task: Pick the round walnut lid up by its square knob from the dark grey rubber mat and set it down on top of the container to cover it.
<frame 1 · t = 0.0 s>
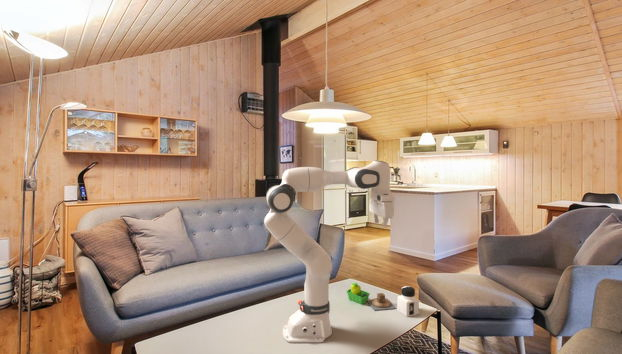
hand: (380, 224, 153), 48 cm above the table, fingers open, 8 cm apart
lid: (381, 303, 177), point 1 cm above the table, touching mat
fruit basket: (357, 301, 182), on the table
container: (407, 312, 168), on the table
mat: (381, 304, 177), on the table
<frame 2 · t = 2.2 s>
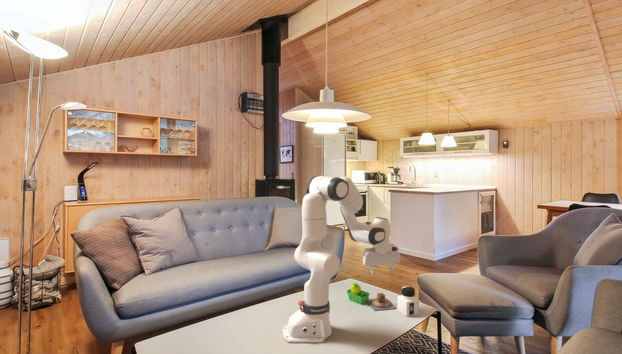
hand: (381, 272, 176), 18 cm above the table, fingers open, 8 cm apart
nothing on the table moved.
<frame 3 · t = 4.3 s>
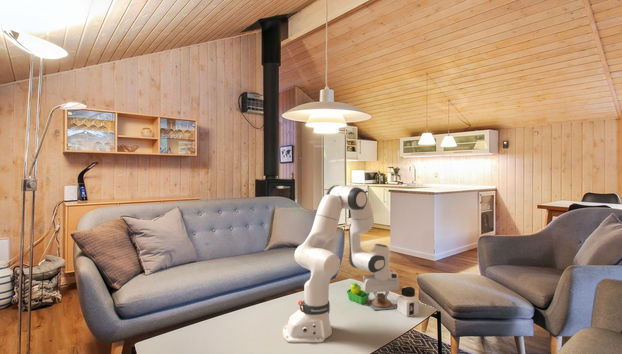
hand: (381, 299, 177), 3 cm above the table, fingers closed on lid, 3 cm apart
lid: (381, 303, 177), point 1 cm above the table, touching gripper, mat
everything else where it was.
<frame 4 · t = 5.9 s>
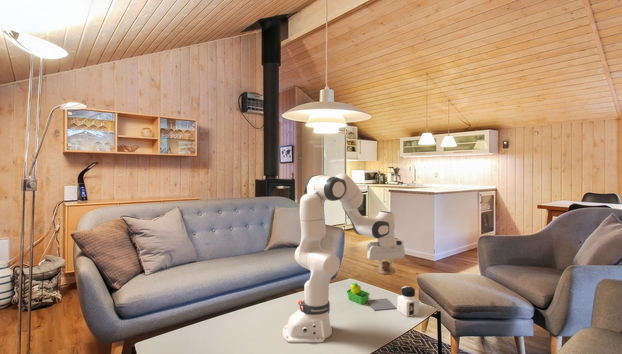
hand: (385, 266, 175), 21 cm above the table, fingers closed on lid, 3 cm apart
lid: (385, 271, 175), point 19 cm above the table, touching gripper
everything else where it was.
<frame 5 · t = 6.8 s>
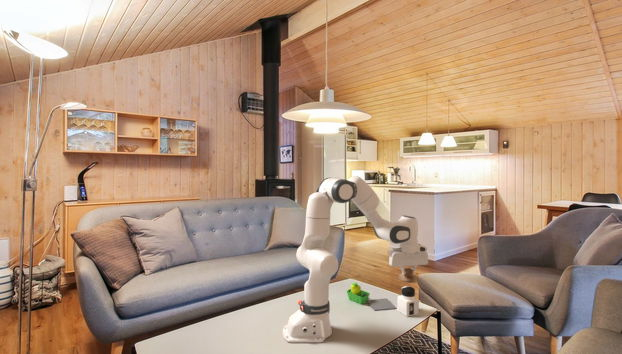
hand: (408, 274, 167), 20 cm above the table, fingers closed on lid, 3 cm apart
lid: (408, 279, 168), point 17 cm above the table, touching gripper
everything else where it was.
when the fingers open (17 cm above the table, at t = 7.5 s): lid drops 1 cm, resting on container.
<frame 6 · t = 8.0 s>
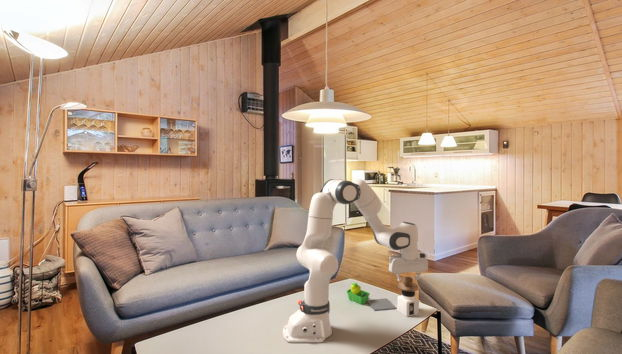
hand: (408, 280, 168), 17 cm above the table, fingers open, 8 cm apart
lid: (408, 287, 168), point 13 cm above the table, touching container
container: (407, 312, 168), on the table, touching lid
everything else where it was.
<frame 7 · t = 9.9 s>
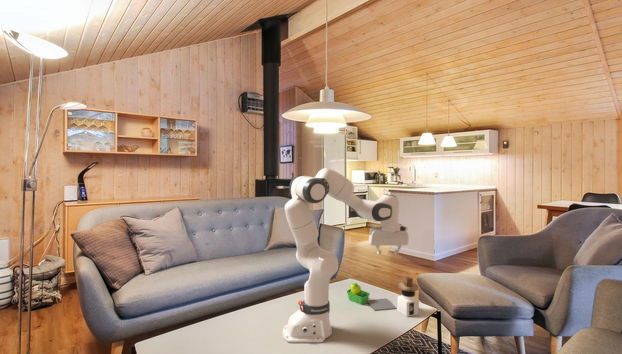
hand: (387, 253, 165), 31 cm above the table, fingers open, 8 cm apart
nothing on the table moved.
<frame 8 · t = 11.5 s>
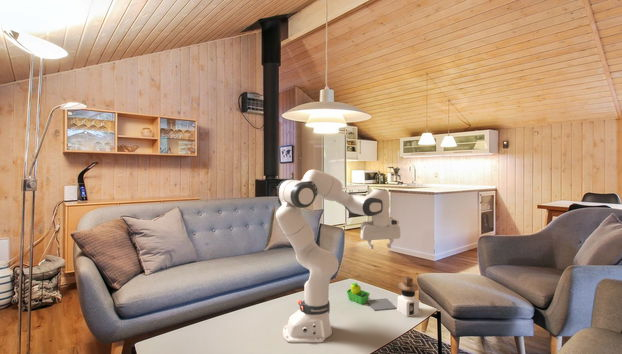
hand: (380, 248, 165), 34 cm above the table, fingers open, 8 cm apart
nothing on the table moved.
at the end: lid inside the target area on the container (0.1 cm from its centre), point 13.2 cm above the container's base; lid tilted 0°; the gripper is holding nothing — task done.
